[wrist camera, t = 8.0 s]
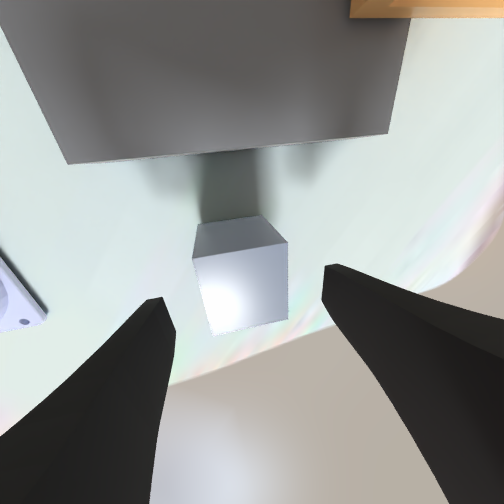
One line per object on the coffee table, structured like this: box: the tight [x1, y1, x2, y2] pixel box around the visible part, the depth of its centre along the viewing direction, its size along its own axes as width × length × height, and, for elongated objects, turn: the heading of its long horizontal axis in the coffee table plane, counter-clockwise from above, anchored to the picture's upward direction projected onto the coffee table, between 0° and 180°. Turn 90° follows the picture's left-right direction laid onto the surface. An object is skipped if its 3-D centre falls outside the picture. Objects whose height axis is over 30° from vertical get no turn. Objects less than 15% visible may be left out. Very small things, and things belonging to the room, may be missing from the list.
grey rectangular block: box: [192, 215, 288, 336], centre depth 11 cm, size 4×4×5 cm
